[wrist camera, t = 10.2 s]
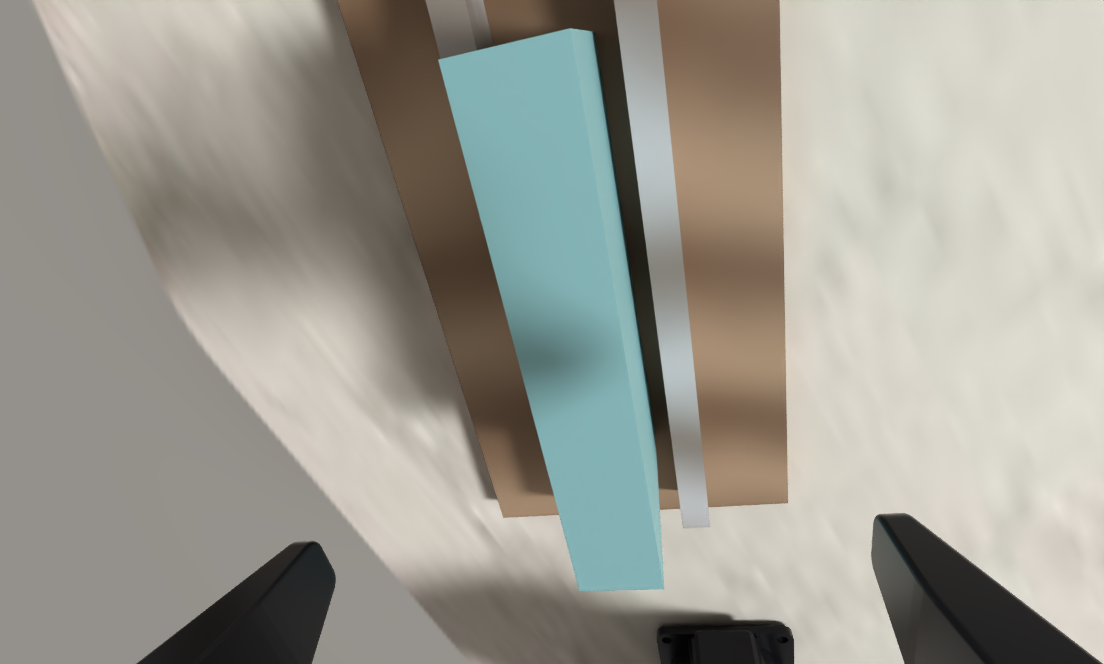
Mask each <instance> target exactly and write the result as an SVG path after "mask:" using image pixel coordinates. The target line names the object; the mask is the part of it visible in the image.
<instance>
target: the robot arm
mask: <svg viewBox="0 0 1104 664" xmlns="http://www.w3.org/2000/svg"><path fill="white" fill-rule="evenodd" d="M871 558H872V565H873V569H874V572H875V576H876V579H877V582H878V585H879V588H880V591H881V594H882V597H883V600H884V603H885V606H886V609H887V612H888V615H889V618H890V621H891V624H892V627H893V630H894V633H895V636H896V639H897V642H898V645H899V648H900V651H901V654H902V657H903V660H904V663H905V664H1102V663H1101V662H1100V661H1099V660H1097V659H1096V658H1095V657H1093V656H1092V655H1091V654H1090V653H1088V652H1087V651H1086V650H1084V649H1083V648H1082V647H1080V646H1079V645H1078V644H1077V643H1075V642H1074V641H1073V640H1071V639H1070V638H1069V637H1068V636H1066V635H1065V634H1064V633H1062V632H1061V631H1060V630H1058V629H1057V628H1056V627H1055V626H1053V625H1052V624H1051V623H1049V622H1048V621H1047V620H1045V619H1044V618H1043V617H1042V616H1040V615H1039V614H1038V613H1036V612H1035V611H1034V610H1033V609H1031V608H1030V607H1029V606H1027V605H1026V604H1025V603H1023V602H1022V601H1021V600H1020V599H1018V598H1017V597H1016V596H1014V595H1013V594H1012V593H1010V592H1009V591H1008V590H1007V589H1005V588H1004V587H1003V586H1001V585H1000V584H999V583H998V582H996V581H995V580H994V579H992V578H991V577H990V576H988V575H987V574H986V573H985V572H983V571H982V570H981V569H979V568H978V567H977V566H976V565H974V564H973V563H972V562H970V561H969V560H968V559H966V558H965V557H964V556H963V555H961V554H960V553H959V552H957V551H956V550H955V549H953V548H952V547H951V546H950V545H948V544H947V543H946V542H944V541H943V540H942V539H941V538H939V537H938V536H937V535H935V534H934V533H933V532H931V531H930V530H929V529H928V528H926V527H925V526H924V525H922V524H921V523H920V522H918V521H917V520H916V519H915V518H913V517H912V516H910V515H908V514H905V513H894V514H879V515H877V516H876V517H875V519H874V523H873V537H872V551H871ZM335 582H336V577H335V572H334V570H333V568H332V566H331V564H330V562H329V560H328V558H327V557H326V555H325V553H324V551H323V549H322V547H321V546H320V544H319V543H317V542H315V541H303V542H295V543H292V544H290V545H289V546H288V547H286V548H285V549H284V550H283V551H281V552H280V553H279V554H277V555H276V556H275V557H274V558H273V559H271V560H270V561H268V562H267V563H266V564H264V566H262V567H261V568H259V569H258V570H257V571H255V572H254V573H253V574H252V575H250V576H249V577H248V578H246V579H245V580H244V581H243V582H241V583H240V584H239V585H238V586H236V587H235V588H234V589H232V590H231V591H230V592H228V593H227V594H226V595H224V596H223V597H222V598H221V599H219V600H218V601H217V602H215V603H214V604H213V605H212V606H210V607H209V608H208V609H206V610H205V611H204V612H203V613H201V614H200V615H199V616H197V617H196V618H195V619H194V620H192V621H191V622H190V623H188V624H187V625H186V626H185V627H183V628H182V629H181V630H179V631H178V632H177V633H176V634H174V635H173V636H172V637H170V638H169V639H168V640H166V641H165V642H164V643H163V644H161V645H160V646H159V647H158V648H156V649H155V650H153V651H152V652H151V653H150V654H148V655H147V656H146V657H145V658H143V659H142V660H141V661H139V662H138V663H137V664H312V661H313V657H314V654H315V651H316V648H317V644H318V641H319V638H320V634H321V631H322V628H323V625H324V621H325V618H326V615H327V611H328V608H329V605H330V601H331V598H332V595H333V591H334V588H335ZM657 643H658V648H659V654H660V659H661V664H794V639H793V635H792V631H791V629H790V628H788V627H786V626H682V627H661V628H659V629H658V630H657Z"/></svg>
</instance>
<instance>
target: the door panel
mask: <svg viewBox="0 0 1104 664" xmlns="http://www.w3.org/2000/svg"><path fill="white" fill-rule="evenodd" d="M438 61H439V65H440V68H441V72H442V76H443V80H444V83H445V87H446V91H447V95H448V99H449V102H450V106H451V110H452V114H453V117H454V121H455V125H456V129H457V132H458V136H459V140H460V144H461V147H462V151H463V155H464V159H465V162H466V166H467V170H468V174H469V178H470V181H471V185H472V189H473V193H474V196H475V200H476V204H477V208H478V211H479V215H480V219H481V223H482V226H483V230H484V234H485V238H486V241H487V245H488V249H489V253H490V257H491V260H492V264H493V268H494V272H495V275H496V279H497V283H498V287H499V290H500V294H501V298H502V302H503V305H504V309H505V313H506V317H507V320H508V324H509V328H510V332H511V336H512V339H513V343H514V347H515V351H516V354H517V358H518V362H519V366H520V369H521V373H522V377H523V381H524V384H525V388H526V392H527V396H528V399H529V403H530V407H531V411H532V414H533V418H534V422H535V426H536V430H537V433H538V437H539V441H540V445H541V448H542V452H543V456H544V460H545V463H546V467H547V471H548V475H549V478H550V482H551V486H552V490H553V493H554V497H555V501H556V505H557V509H558V512H559V516H560V520H561V524H562V527H563V531H564V535H565V539H566V542H567V546H568V550H569V554H570V557H571V561H572V565H573V569H574V572H575V576H576V580H577V584H578V588H579V591H610V590H650V589H664V578H663V560H662V542H661V524H660V506H659V488H658V471H657V453H656V435H655V427H654V420H653V413H652V407H651V400H650V393H649V387H648V380H647V374H646V367H645V360H644V354H643V347H642V340H641V334H640V327H639V320H638V314H637V307H636V300H635V294H634V287H633V280H632V274H631V267H630V260H629V254H628V247H627V240H626V234H625V227H624V221H623V214H622V207H621V201H620V194H619V187H618V181H617V174H616V167H615V161H614V154H613V147H612V141H611V134H610V127H609V121H608V114H607V107H606V101H605V94H604V88H603V81H602V74H601V68H600V61H599V54H598V48H597V41H596V34H595V32H592V31H585V30H578V29H572V28H569V29H565V30H561V31H557V32H553V33H548V34H544V35H540V36H536V37H532V38H527V39H523V40H519V41H515V42H511V43H506V44H502V45H498V46H494V47H490V48H485V49H481V50H477V51H473V52H469V53H464V54H460V55H456V56H452V57H447V58H443V59H439V60H438Z"/></svg>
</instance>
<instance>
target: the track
mask: <svg viewBox="0 0 1104 664" xmlns="http://www.w3.org/2000/svg"><path fill="white" fill-rule="evenodd" d="M337 1H338V4H339V7H340V11H341V14H342V17H343V20H344V23H345V26H346V29H347V32H348V35H349V39H350V42H351V45H352V48H353V51H354V54H355V57H356V60H357V63H358V67H359V70H360V73H361V76H362V79H363V82H364V85H365V88H366V91H367V95H368V98H369V101H370V104H371V107H372V110H373V113H374V116H375V119H376V123H377V126H378V129H379V132H380V135H381V138H382V141H383V144H384V147H385V151H386V154H387V157H388V160H389V163H390V166H391V169H392V172H393V175H394V179H395V182H396V185H397V188H398V191H399V194H400V197H401V200H402V203H403V207H404V210H405V213H406V216H407V219H408V222H409V225H410V228H411V231H412V235H413V238H414V241H415V244H416V247H417V250H418V253H419V256H420V260H421V263H422V266H423V269H424V272H425V275H426V278H427V281H428V284H429V288H430V291H431V294H432V297H433V300H434V303H435V306H436V309H437V312H438V316H439V319H440V322H441V325H442V328H443V331H444V334H445V337H446V340H447V344H448V347H449V350H450V353H451V356H452V359H453V362H454V365H455V368H456V372H457V375H458V378H459V381H460V384H461V387H462V390H463V393H464V396H465V400H466V403H467V406H468V409H469V412H470V415H471V418H472V421H473V424H474V428H475V431H476V434H477V437H478V440H479V443H480V446H481V449H482V452H483V456H484V459H485V462H486V465H487V468H488V471H489V474H490V477H491V480H492V484H493V487H494V490H495V493H496V496H497V499H498V502H499V505H500V509H501V512H502V515H503V518H507V517H527V516H546V515H559V512H558V509H557V505H556V501H555V497H554V493H553V490H552V486H551V482H550V478H549V475H548V471H547V467H546V463H545V460H544V456H543V452H542V448H541V445H540V441H539V437H538V433H537V430H536V426H535V422H534V418H533V414H532V411H531V407H530V403H529V399H528V396H527V392H526V388H525V384H524V381H523V377H522V373H521V369H520V366H519V362H518V358H517V354H516V351H515V347H514V343H513V339H512V336H511V332H510V328H509V324H508V320H507V317H506V313H505V309H504V305H503V302H502V298H501V294H500V290H499V287H498V283H497V279H496V275H495V272H494V268H493V264H492V260H491V257H490V253H489V249H488V245H487V241H486V238H485V234H484V230H483V226H482V223H481V219H480V215H479V211H478V208H477V204H476V200H475V196H474V193H473V189H472V185H471V181H470V178H469V174H468V170H467V166H466V162H465V159H464V155H463V151H462V147H461V144H460V140H459V136H458V132H457V129H456V125H455V121H454V117H453V114H452V110H451V106H450V102H449V99H448V95H447V91H446V87H445V83H444V80H443V76H442V72H441V68H440V65H439V61H438V60H439V59H443V58H447V57H452V56H456V55H460V54H464V53H469V52H473V51H477V50H481V49H485V48H490V47H494V46H498V45H502V44H506V43H511V42H515V41H519V40H523V39H527V38H532V37H536V36H540V35H544V34H548V33H553V32H557V31H561V30H565V29H569V28H572V29H578V30H585V31H592V32H595V34H596V41H597V48H598V54H599V61H600V68H601V74H602V81H603V88H604V94H605V101H606V107H607V114H608V121H609V127H610V134H611V141H612V147H613V154H614V161H615V167H616V174H617V181H618V187H619V194H620V201H621V207H622V214H623V221H624V227H625V234H626V240H627V247H628V254H629V260H630V267H631V274H632V280H633V287H634V294H635V300H636V307H637V314H638V320H639V327H640V334H641V340H642V347H643V354H644V360H645V367H646V374H647V380H648V387H649V393H650V400H651V407H652V413H653V420H654V427H655V435H656V453H657V471H658V488H659V506H660V510H663V509H681V517H682V524H683V528H698V527H710V520H709V510H708V507H721V506H740V505H760V504H779V503H788V479H787V420H786V361H785V302H784V243H783V184H782V125H781V66H780V7H779V0H337Z"/></svg>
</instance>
